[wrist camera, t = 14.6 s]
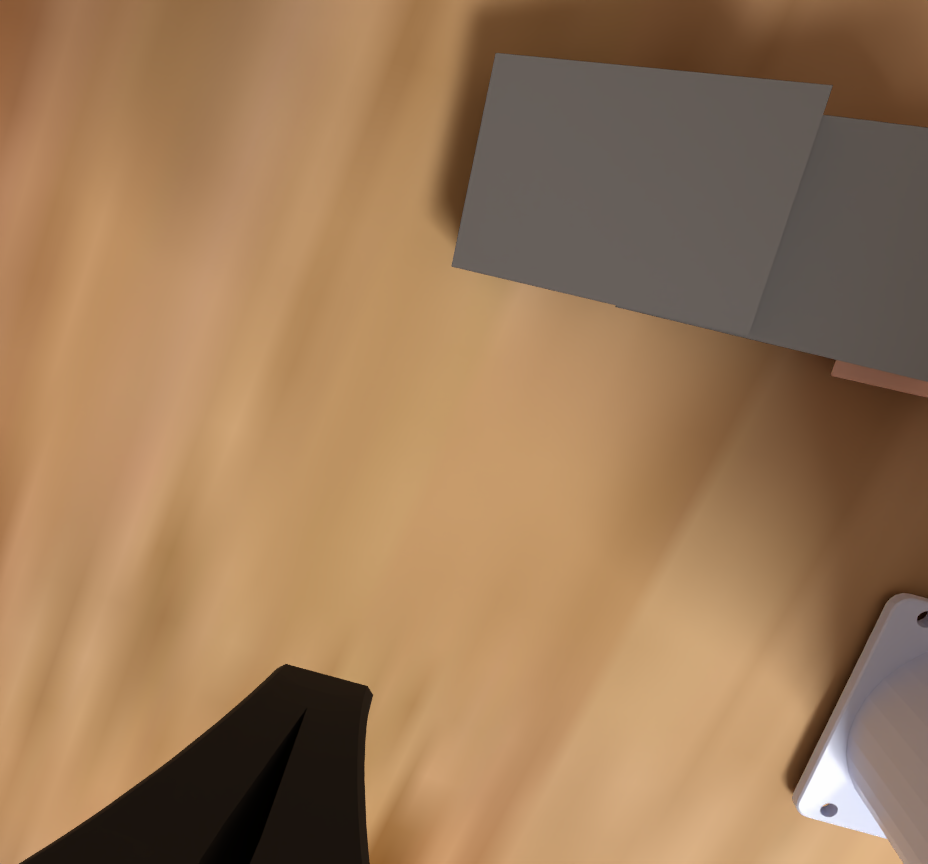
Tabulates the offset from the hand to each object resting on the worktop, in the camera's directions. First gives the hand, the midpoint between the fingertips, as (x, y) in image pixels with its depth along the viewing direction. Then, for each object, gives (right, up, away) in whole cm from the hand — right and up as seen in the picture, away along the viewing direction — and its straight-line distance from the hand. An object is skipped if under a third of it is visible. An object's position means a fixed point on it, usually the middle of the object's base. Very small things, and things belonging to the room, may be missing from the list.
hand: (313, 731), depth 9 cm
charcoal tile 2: (+7, +10, +7) cm, 14 cm away
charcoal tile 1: (+3, +11, +7) cm, 13 cm away
